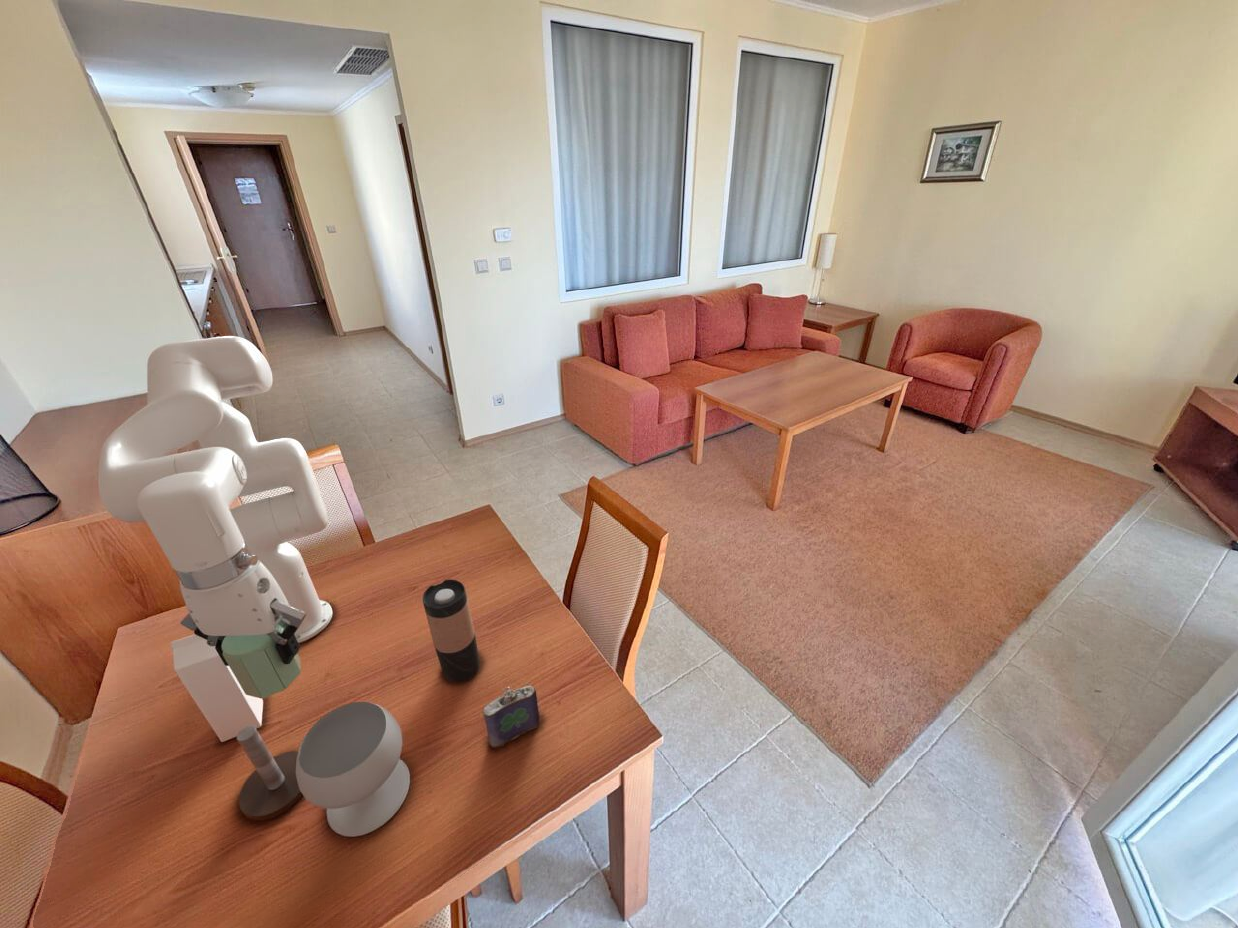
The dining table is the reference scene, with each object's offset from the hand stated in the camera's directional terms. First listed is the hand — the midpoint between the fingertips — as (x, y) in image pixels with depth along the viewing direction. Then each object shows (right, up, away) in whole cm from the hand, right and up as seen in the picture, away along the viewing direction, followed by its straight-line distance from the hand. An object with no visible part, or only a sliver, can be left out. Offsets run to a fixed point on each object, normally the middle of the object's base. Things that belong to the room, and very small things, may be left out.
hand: (263, 656), depth 72 cm
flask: (+34, -19, +15) cm, 42 cm away
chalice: (+12, -25, +6) cm, 28 cm away
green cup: (0, -4, +2) cm, 4 cm away
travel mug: (+20, -13, +27) cm, 37 cm away
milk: (-16, -19, +18) cm, 31 cm away
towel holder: (-3, -24, +8) cm, 25 cm away
